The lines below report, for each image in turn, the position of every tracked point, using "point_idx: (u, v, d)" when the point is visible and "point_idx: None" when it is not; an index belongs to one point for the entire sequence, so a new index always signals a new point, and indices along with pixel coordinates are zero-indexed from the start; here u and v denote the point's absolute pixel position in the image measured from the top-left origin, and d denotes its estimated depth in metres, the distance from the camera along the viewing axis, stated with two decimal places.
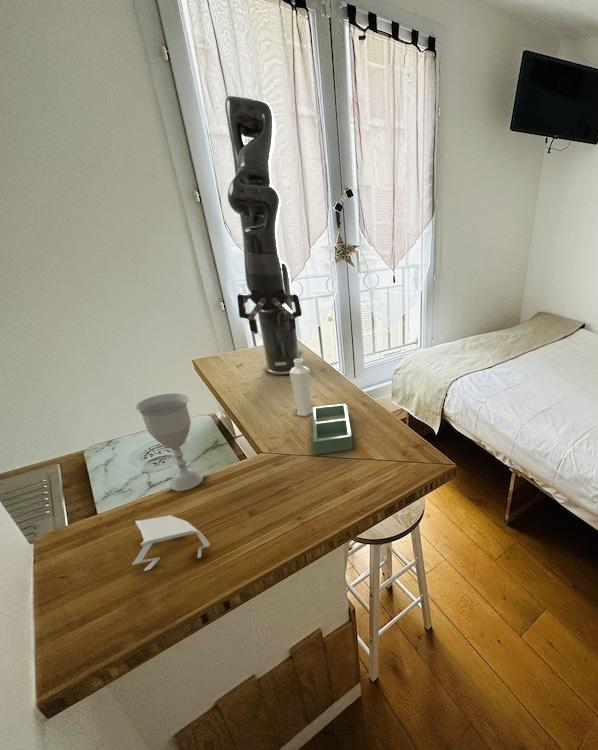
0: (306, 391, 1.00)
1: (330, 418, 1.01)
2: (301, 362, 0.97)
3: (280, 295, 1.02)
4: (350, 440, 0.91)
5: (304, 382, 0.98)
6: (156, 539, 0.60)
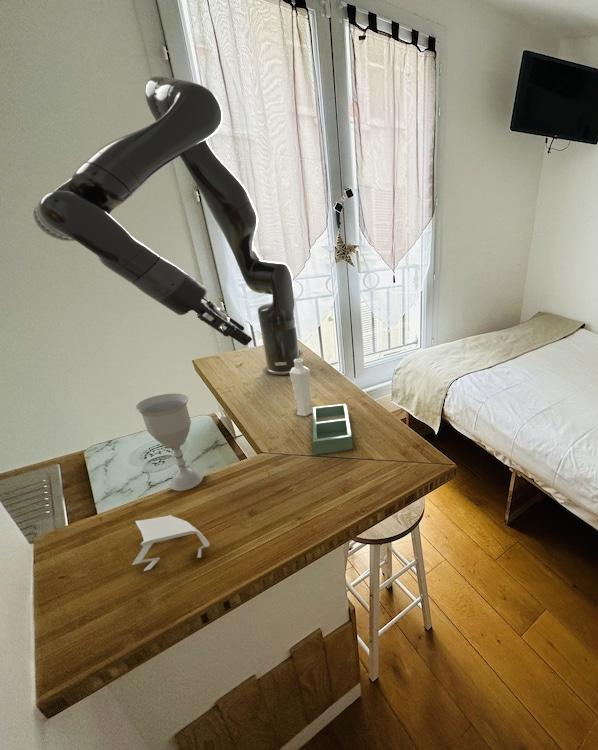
0: (306, 391, 1.00)
1: (330, 418, 1.01)
2: (301, 362, 0.97)
3: (198, 313, 0.80)
4: (350, 440, 0.91)
5: (304, 382, 0.98)
6: (156, 539, 0.60)
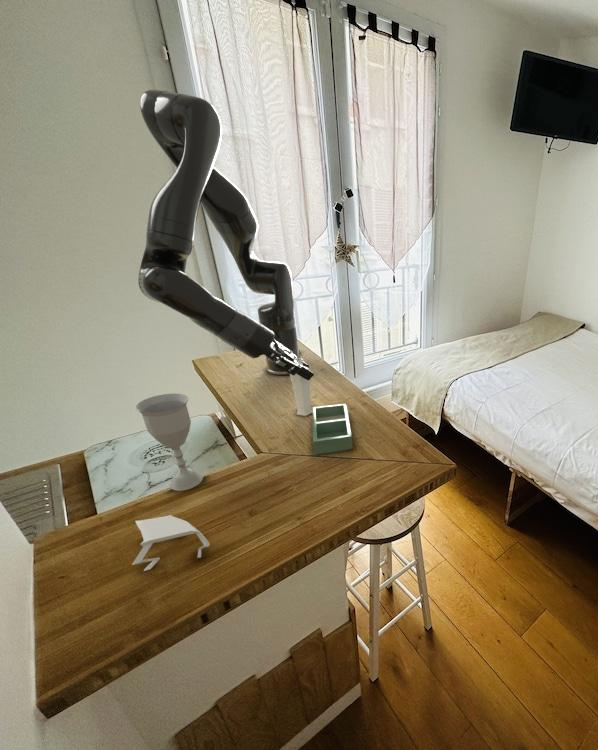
0: (306, 390, 1.00)
1: (330, 418, 1.01)
2: (301, 362, 0.97)
3: None
4: (350, 440, 0.91)
5: (304, 382, 0.99)
6: (156, 539, 0.60)
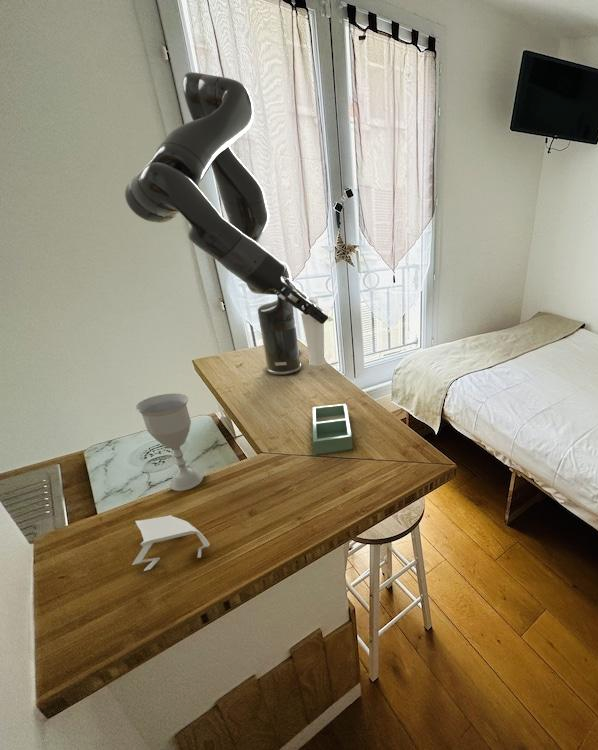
0: (319, 337, 0.89)
1: (330, 418, 1.01)
2: (314, 303, 0.87)
3: (277, 291, 0.79)
4: (350, 440, 0.91)
5: (317, 326, 0.88)
6: (156, 539, 0.60)
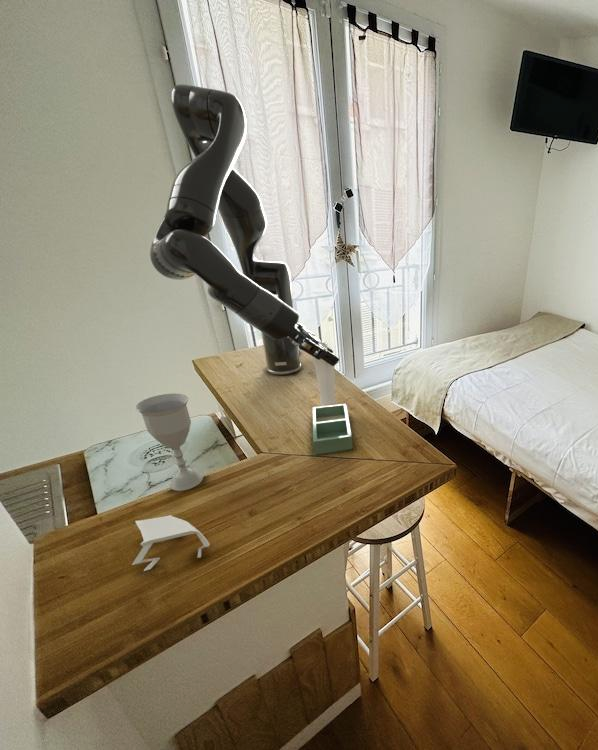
0: (330, 377, 0.93)
1: (330, 418, 1.01)
2: (325, 346, 0.90)
3: (291, 338, 0.83)
4: (350, 440, 0.91)
5: (328, 367, 0.91)
6: (156, 539, 0.60)
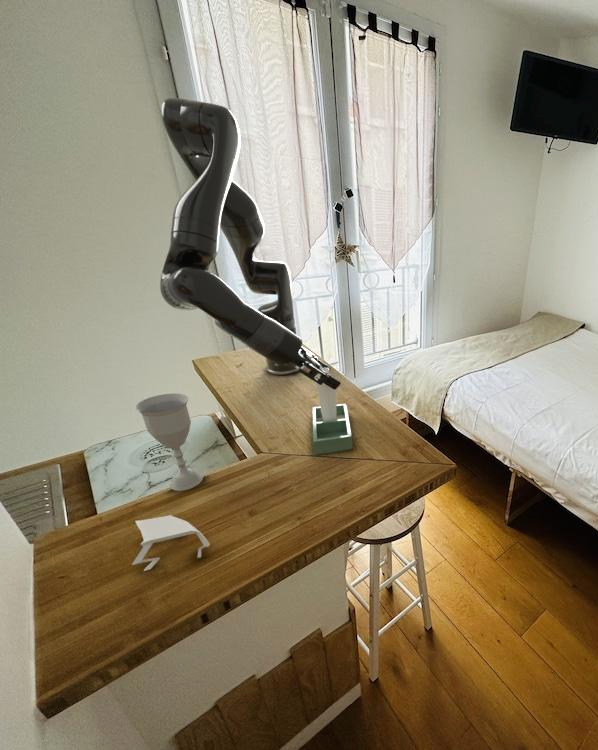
0: (332, 401, 0.95)
1: None
2: (328, 372, 0.92)
3: None
4: (350, 440, 0.91)
5: (330, 392, 0.94)
6: (156, 539, 0.60)
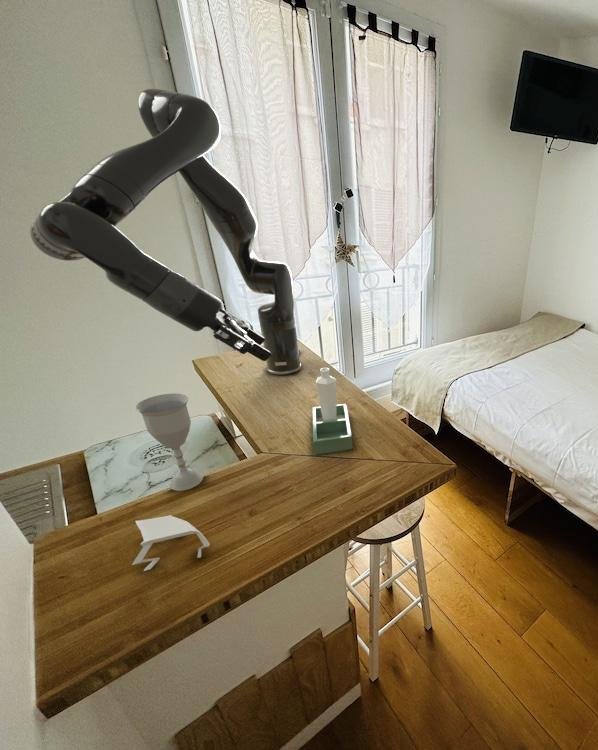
0: (332, 401, 0.95)
1: None
2: (328, 372, 0.92)
3: None
4: (350, 440, 0.91)
5: (330, 392, 0.94)
6: (156, 539, 0.60)
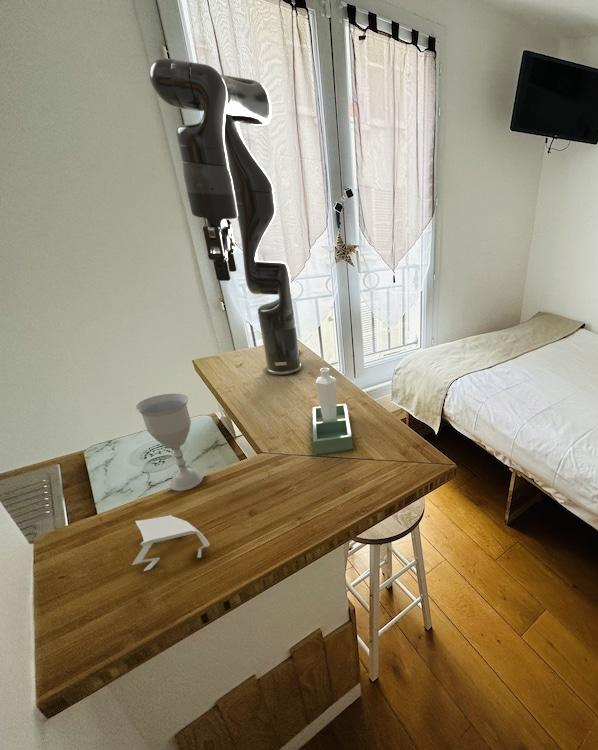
0: (332, 401, 0.95)
1: None
2: (328, 372, 0.92)
3: None
4: (350, 440, 0.91)
5: (330, 392, 0.94)
6: (156, 539, 0.60)
